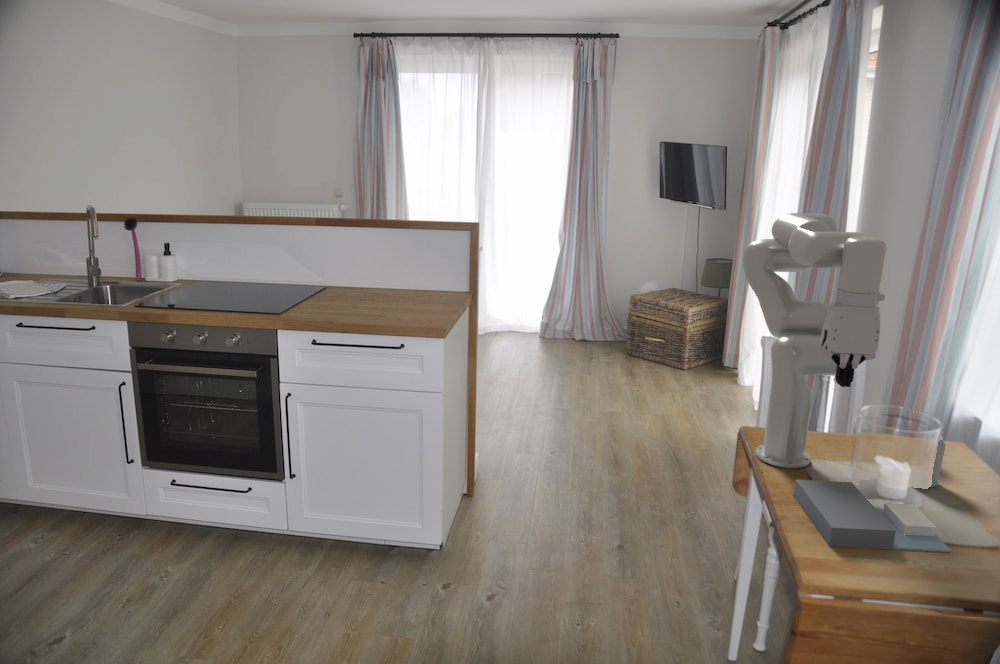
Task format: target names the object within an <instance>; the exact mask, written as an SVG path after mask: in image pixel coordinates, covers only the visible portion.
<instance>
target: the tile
mask: <svg viewBox="0 0 1000 664" xmlns="http://www.w3.org/2000/svg"><path fill="white" fill-rule="evenodd" d="M883 512H884V513H885V514H886V515H887V516H888V518H889V519H890V520H891V521H892V522H893V523H894V524H895V525H896V526H897V528H898V529H899V530H900V531H901V532H902V533H903V534H906V535H924V536H935V534H936V533H937V526H936V525H935V524H934V523H933V522H932V521H931V520H930V519H929V518H928V517H927V516H926V515H925V514H924V513H923V512H922V511H921V510H920V509H919V508H918V507H917V506H916V505H915V504H910V503H909V504H908V503H907V504H906V503H904V504H892V503H885V504H884V509H883Z"/></svg>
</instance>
